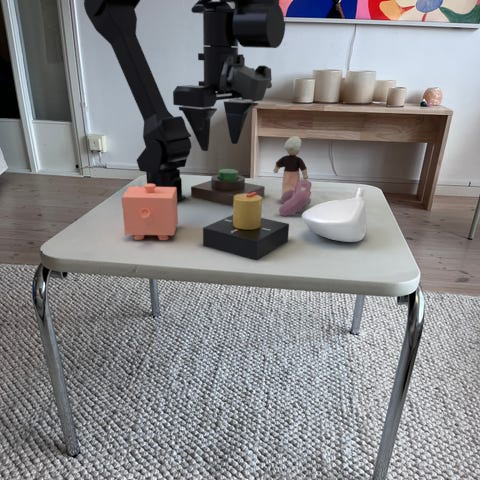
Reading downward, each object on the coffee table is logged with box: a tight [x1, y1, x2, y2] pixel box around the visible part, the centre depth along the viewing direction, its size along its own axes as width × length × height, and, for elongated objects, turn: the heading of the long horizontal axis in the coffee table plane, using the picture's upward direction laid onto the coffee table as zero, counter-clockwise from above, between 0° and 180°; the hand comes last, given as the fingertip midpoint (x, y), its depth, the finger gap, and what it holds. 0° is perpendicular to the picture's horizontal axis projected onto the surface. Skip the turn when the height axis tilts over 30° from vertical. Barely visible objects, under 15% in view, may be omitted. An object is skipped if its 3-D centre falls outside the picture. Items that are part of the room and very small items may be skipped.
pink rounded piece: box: [278, 178, 312, 217], centre depth 92 cm, size 10×5×7 cm, turn 173°
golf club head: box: [301, 187, 367, 243], centre depth 80 cm, size 10×11×12 cm
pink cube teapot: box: [121, 183, 179, 241], centre depth 77 cm, size 8×12×8 cm, turn 1°
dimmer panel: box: [202, 214, 290, 261], centre depth 76 cm, size 10×10×3 cm
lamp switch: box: [218, 168, 239, 181], centre depth 99 cm, size 4×4×2 cm
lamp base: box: [190, 174, 266, 207], centre depth 100 cm, size 12×10×4 cm
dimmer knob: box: [232, 192, 263, 230], centre depth 74 cm, size 4×4×5 cm
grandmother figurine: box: [272, 135, 309, 204], centre depth 95 cm, size 8×4×13 cm, turn 67°
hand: (220, 147), depth 85 cm, fingers open, 9 cm apart
